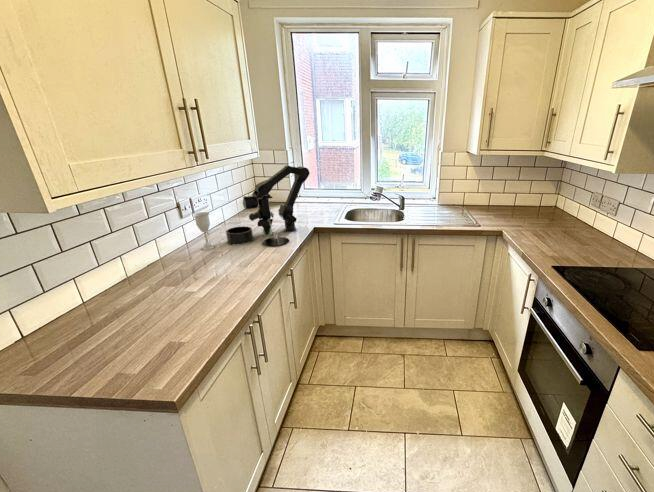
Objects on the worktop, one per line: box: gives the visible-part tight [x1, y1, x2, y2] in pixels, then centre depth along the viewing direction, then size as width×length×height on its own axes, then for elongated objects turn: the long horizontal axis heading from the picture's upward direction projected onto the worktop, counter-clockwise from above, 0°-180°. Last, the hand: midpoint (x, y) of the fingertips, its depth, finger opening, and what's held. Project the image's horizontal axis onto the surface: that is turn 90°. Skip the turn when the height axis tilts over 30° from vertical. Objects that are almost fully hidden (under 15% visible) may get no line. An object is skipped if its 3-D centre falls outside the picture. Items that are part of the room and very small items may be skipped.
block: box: [262, 226, 273, 237], centre depth 180 cm, size 4×4×4 cm
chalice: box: [192, 211, 215, 251], centre depth 157 cm, size 7×7×18 cm
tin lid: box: [262, 231, 290, 248], centre depth 168 cm, size 14×14×6 cm
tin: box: [225, 225, 254, 246], centre depth 169 cm, size 13×13×6 cm
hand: (267, 233), depth 180 cm, fingers closed on block, 4 cm apart
